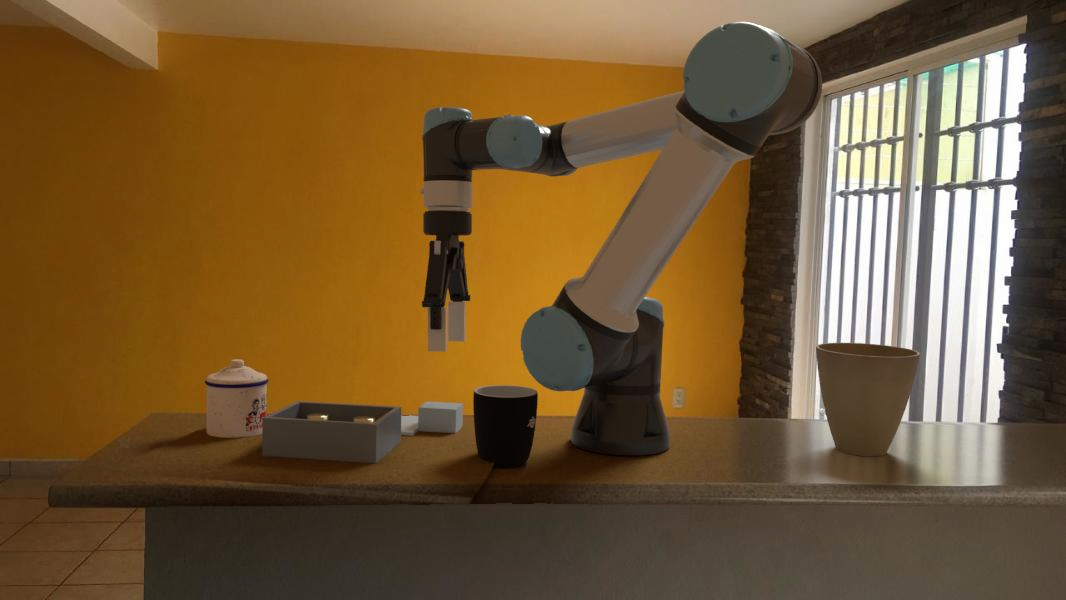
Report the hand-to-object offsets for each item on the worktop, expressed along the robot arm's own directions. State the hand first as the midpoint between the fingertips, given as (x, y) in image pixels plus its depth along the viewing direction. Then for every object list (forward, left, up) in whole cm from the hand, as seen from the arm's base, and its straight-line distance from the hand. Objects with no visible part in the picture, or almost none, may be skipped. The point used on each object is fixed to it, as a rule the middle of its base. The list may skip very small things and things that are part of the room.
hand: (447, 346), depth 136 cm
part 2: (+9, +13, -13) cm, 21 cm away
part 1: (+16, +13, -13) cm, 25 cm away
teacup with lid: (+30, +8, -14) cm, 35 cm away
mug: (-12, +13, -14) cm, 22 cm away
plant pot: (-65, -5, -14) cm, 66 cm away
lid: (+9, 0, -14) cm, 17 cm away
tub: (+12, +16, -14) cm, 24 cm away
